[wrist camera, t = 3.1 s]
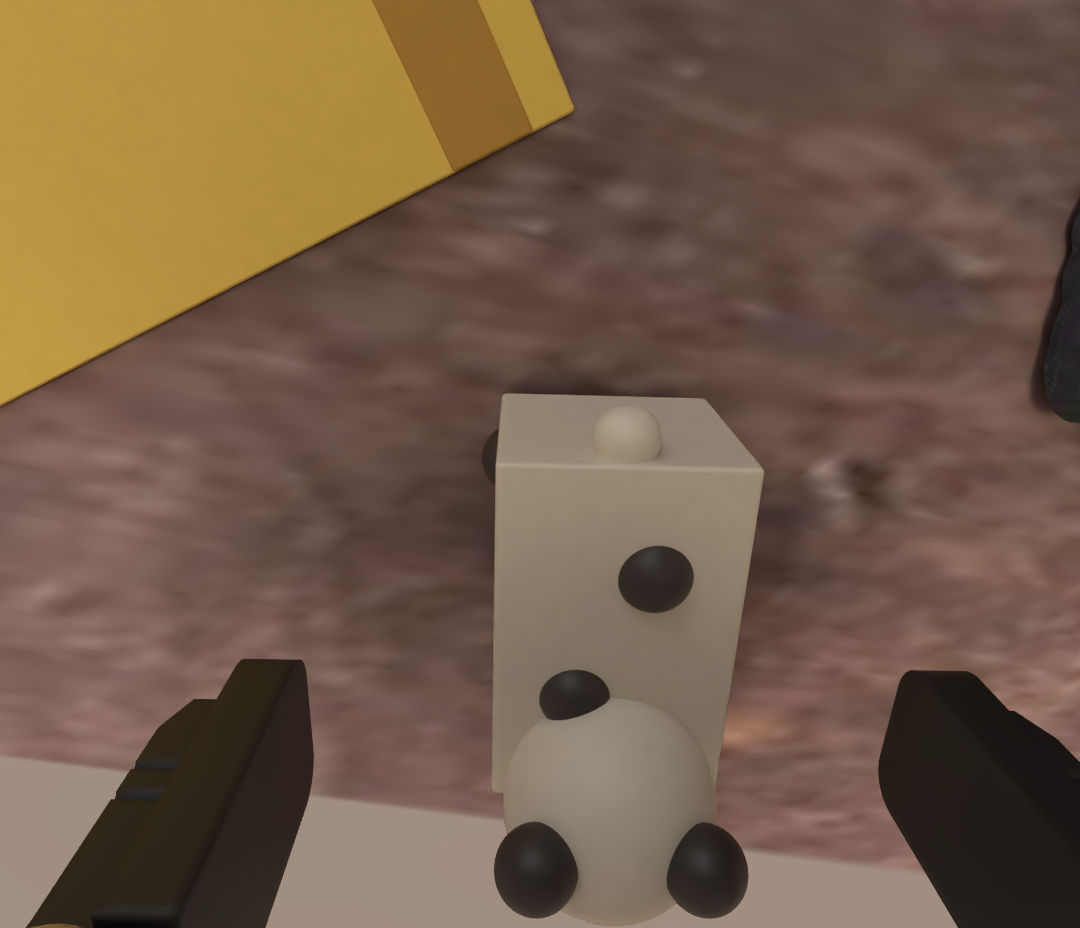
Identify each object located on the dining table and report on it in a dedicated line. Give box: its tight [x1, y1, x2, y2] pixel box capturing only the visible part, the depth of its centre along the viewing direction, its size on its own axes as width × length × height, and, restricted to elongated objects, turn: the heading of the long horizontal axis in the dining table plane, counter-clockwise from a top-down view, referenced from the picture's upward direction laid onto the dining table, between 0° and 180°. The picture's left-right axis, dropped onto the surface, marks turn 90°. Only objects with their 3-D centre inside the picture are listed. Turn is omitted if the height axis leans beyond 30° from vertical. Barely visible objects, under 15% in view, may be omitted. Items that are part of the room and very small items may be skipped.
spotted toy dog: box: [482, 393, 764, 926], centre depth 13 cm, size 9×4×8 cm, turn 178°
